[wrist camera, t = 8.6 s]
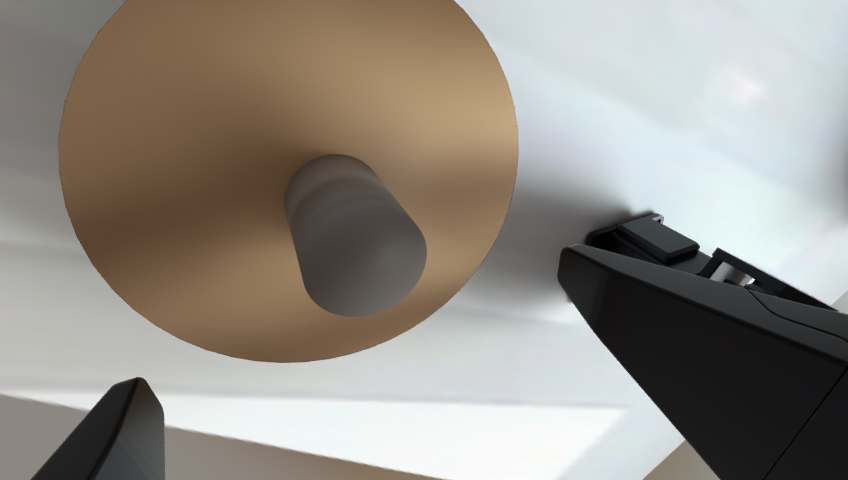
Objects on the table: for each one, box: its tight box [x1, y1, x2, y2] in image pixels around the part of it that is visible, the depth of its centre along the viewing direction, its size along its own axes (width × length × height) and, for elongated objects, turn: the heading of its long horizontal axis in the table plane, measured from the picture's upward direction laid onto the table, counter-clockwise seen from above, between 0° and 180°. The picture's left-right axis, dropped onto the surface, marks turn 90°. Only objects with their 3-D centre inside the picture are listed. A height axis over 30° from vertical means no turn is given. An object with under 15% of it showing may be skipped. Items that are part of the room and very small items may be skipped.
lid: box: [59, 0, 518, 363], centre depth 12 cm, size 14×14×5 cm
